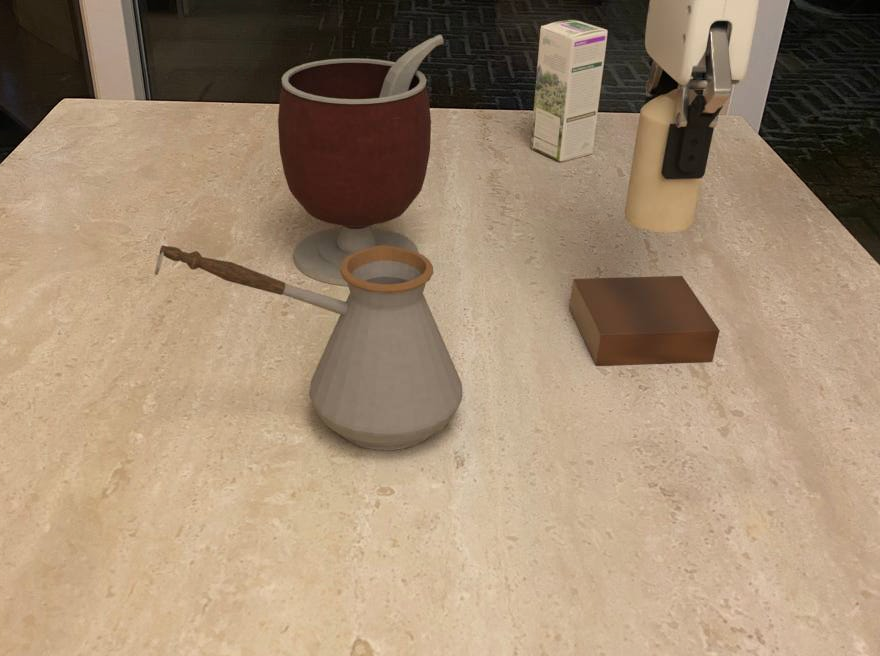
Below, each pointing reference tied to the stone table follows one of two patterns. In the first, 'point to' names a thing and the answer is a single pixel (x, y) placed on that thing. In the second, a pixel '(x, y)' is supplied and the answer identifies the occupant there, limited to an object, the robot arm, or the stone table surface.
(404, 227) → the stone table surface
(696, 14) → the robot arm
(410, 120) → the mate gourd
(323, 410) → the coffee pot
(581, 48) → the syrup box
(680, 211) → the candle
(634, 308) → the walnut block
